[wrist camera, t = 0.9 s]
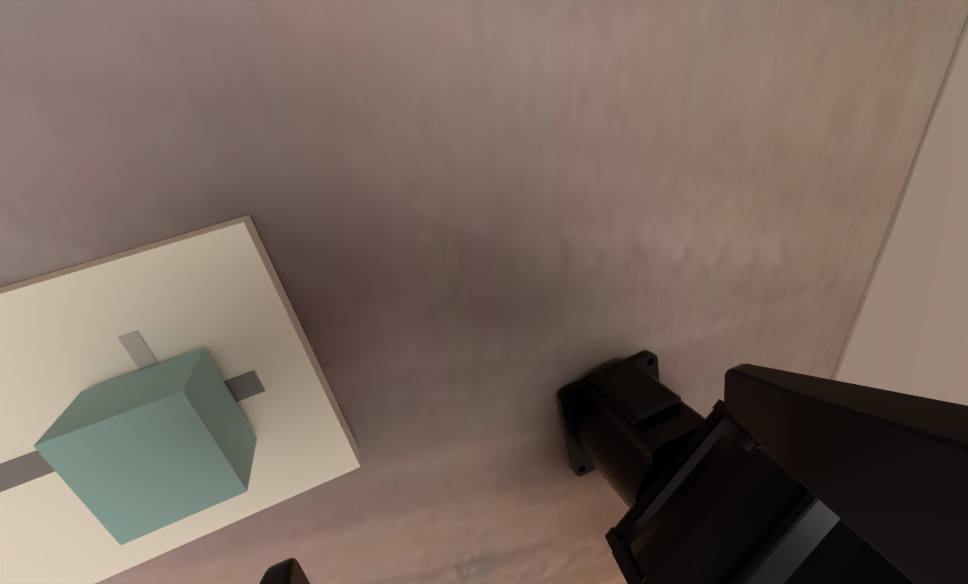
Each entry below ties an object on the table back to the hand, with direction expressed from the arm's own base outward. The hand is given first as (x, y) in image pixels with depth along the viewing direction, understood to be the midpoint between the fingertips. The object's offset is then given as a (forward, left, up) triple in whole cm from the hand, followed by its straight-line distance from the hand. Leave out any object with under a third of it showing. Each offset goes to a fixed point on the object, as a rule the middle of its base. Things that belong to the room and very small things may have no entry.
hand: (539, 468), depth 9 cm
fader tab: (-2, +10, -11) cm, 15 cm away
